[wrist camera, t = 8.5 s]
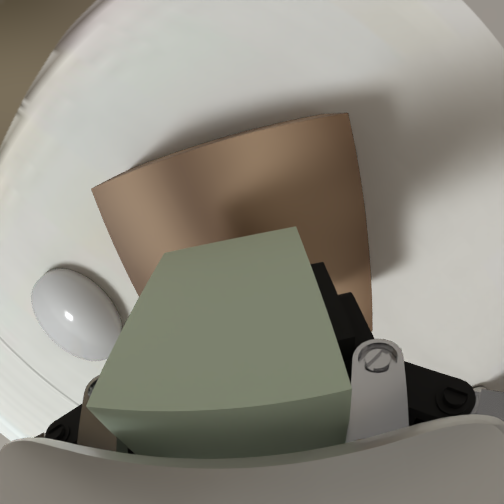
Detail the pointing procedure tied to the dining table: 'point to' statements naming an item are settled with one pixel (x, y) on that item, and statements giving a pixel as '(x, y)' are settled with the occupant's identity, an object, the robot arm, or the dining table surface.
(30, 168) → the dining table surface
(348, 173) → the walnut block
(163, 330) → the sage block
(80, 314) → the white domed disc
